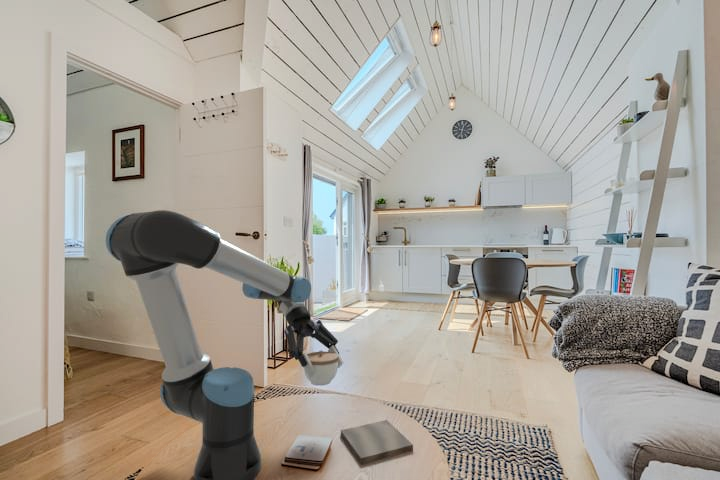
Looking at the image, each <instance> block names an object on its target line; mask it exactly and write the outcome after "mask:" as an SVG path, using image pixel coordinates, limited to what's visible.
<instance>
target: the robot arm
mask: <svg viewBox="0 0 720 480" xmlns="http://www.w3.org/2000/svg"><path fill="white" fill-rule="evenodd" d="M105 246H106V249H107V251H108V252H109V254H110V255H111V256H112V257H113V258H114V259H115V260H116V261H119V262H120V263H121V266H122V269H123V272H124V275H125V277H126V278H129V279H131V280H133V281H135V282H136V284H137V288H138V291H139V294H140V297H141V298H142V299H141V300H142V302H143V305H144V309H145V312H146V313H147V316H148V319H149V322H150V325H151V328H152V331H153V334H154V337H155V340H156V342H157V345H158V348H159V350H160V351H159V352H160V354H161V357H162V360H163V363H164V365H165V368H164V369H163V371H162V372H161V379H162V384H161V386H160V388H159V389H160V391H159V392H160V393H159V394H160V399H161V402H162V403H163V405H164V406H165V407H166V408H167V409H168V410H169V411H171V412H172V413H174V414H177V415H181V416H184V417H186V418H189V419H192V420H193V421H197V422H199V423H201V424H202V440H201V441H202V443H201V447H200V450H199V453H198V456H197V459H196V462H195V465H194V469H193V480H254V478H256V477H257V475H258V474H259V472H260V471H261V469H262V468H261V466H262V457H261V452H260V450H259V446H258V443H257V440H256V437H255V435H254V434H255V433H254V431H255V429H254V428H255V427H254V425H255V424H254V423H255V422H254V420H255V418H254V417H255V387H254V377H253V375H252V374H251V372H249V371H248V370H246V369H243V368H241V367H230V366H229V367H228V366H225V367H219V368H214V367H213V363H212V360H211V357H210V356H209V354H207V353H203V352H202V350H201V347H200V343H199V341H198V337H197V334H196V332H195V328H194V324H193V322H192V319H191V316H190V312H189V309H188V306H187V303H186V299H185V297H184V293H183V290H182V286H181V283H180V281H179V280H180V279H179V277H178V274H177V271H176V268H177V267H178V265H179V264H181V265H187V266H190V267H192V268H194V269H199V270H200V269H204V268H206V269H209V270H211V271H214V272H215V273H216V272H217V273H219V274H221V275H224V276H227V277H228V278H230V279H234V280H236V281H238V282H240V283H242V287H241V288H242V293H243V295H244V296H245V297H247V298H250V299H253V300H267V301H276V303H277V305H278V307H279V309H280V311H281V313H282V314H283V317H284V318H285V321H286V322H287V324H288V325H287V326H286V328H285V329H284V330H283V332H284V334H285V336H286V340H287V346H288V352H289V357H290V358H291V359H293V358H294V360H295V361H297V360H298V361H299V363H300V365H301V367H303V369H304V368H305V370H306V372H307V374H308V376H309V377H312V376H313V375H314V374H315V372H316V371H315V369H314V367H313V365H312V363H311V362H310V360H309V358H308V356H307V354H308V353H307V352H304V341H305V339H304V338H306V337H311V338H312V339H315V340H316V341H318V342H319V343H321V344H322V345H323V346H325V347H326V348H327V349H328V350H327V352H332V353H336V354H337V355H338V369H339V368H341V366H342V365H343V364H344V361H343V359H342V357H341V356H340V352H339V350H338V348H337V346H336V345H337V344H338V342H339V340H338V339H337V338H336V337H335V336H334V334H332V333H331V332H330V330H328V329H327V327H326V326H325V325H324V324H323V323H322V321H321V320H320V319H319V320H318V319H317V321H315V322H314V321H313V320H312V319H311V313H310V312H309V310H308V308H307V307H306V304H305V303H304V302H306V301H307V300H309V298H310V297H311V292H312V284H311V281H310V280H309V279H308V278H307V277H305V276H304V277H303V276H295V275H292V274H291V273H288V272H286V271H284V270H281V269H279V268H278V267H276V266H274V265H272V264H271V263H268V262H266V261H264V260H263V259H261V258H258V257H257V256H255V255H253V254H251V253H249V252H247V251H245V250H243V249H241V248H239V247H237V246H236V245H234V244H231V243H229V242H227V241H226V240H224V239H222V238H221V235H220V233H219V232H217V230H215V229H212V228H210V227H208V226H206V225H205V224H202V223H200V222H198V221H197V220H195V219H192V218H190V217H188V216H186V215H184V214H182V213H178V212H175V211H173V210H172V211H170V210H165V209H161V210H152V211H145V212H136V213H131V214H127V215H124V216H121V217H119V218H118V219H116V220H115V221H114V222H113V223H112V224H111V225H110V227H109V228H108V229H107V232H106V234H105ZM295 335H296V338H295Z"/></svg>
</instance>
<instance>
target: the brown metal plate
mask: <svg viewBox="0 0 720 480" xmlns="http://www.w3.org/2000/svg"><path fill="white" fill-rule="evenodd" d="M340 437H341V438H342V439H343V441H344V442H345V444H346V445H347V446H348V448H349V449H350V451H351V452H352V454H353V455H354V456H355V458H356V459H357V461H358V462H359V464H360V465H365V464H368V463H372V462H376V461H379V460H383V459H386V458H389V457H394V456H397V455H401V454H405V453H408V452H412V451H414V444H413V443H412V442H411V441H410V440H409V439H408V438H407V437H406V436H404V435H403V433H401V432H400V431H399V430H398V429H397V428H396V427H395V426H394V425H393V424H392V423H391V422H390V421H389V420H387V419H385V420H380V421H376V422H372V423H368V424H367V423H366V424H364V425H363V424H362V425H357V426H354V427H350V428H345V429H341V430H340Z"/></svg>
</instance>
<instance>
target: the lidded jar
mask: <svg viewBox="0 0 720 480" xmlns="http://www.w3.org/2000/svg"><path fill="white" fill-rule="evenodd" d="M306 354H307V356H308V358H309V360H310V362H311V363H312V365H313V367H314V369H315V371H316V372H315V374H314V375H313V376H312V377H309V376H308V374H307V372H306V370H305V368H304V367H303V370H304V375H305V376H306V379H307V380H308V381H309V382H310V383H311V384H312V385H313V386H326V385H329V384H331V382H332V381H333V380H334V379H335V377H336V375H337V373H338V369H339V368H338V355H337V354H336V353H332V352H328V351H323V350H318V351H313V352H310V353H309V352H308V353H306Z"/></svg>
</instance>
